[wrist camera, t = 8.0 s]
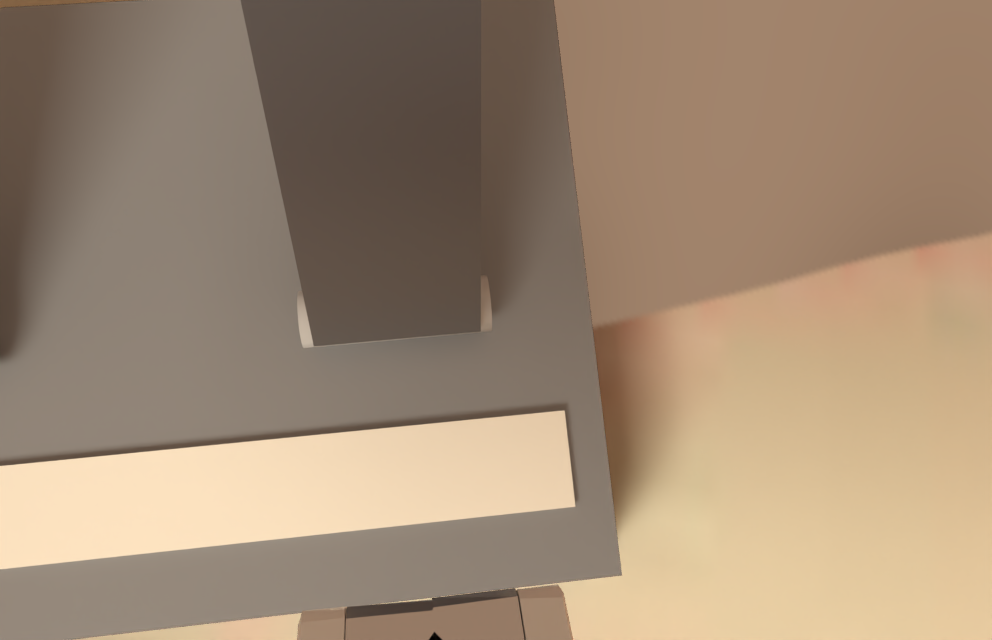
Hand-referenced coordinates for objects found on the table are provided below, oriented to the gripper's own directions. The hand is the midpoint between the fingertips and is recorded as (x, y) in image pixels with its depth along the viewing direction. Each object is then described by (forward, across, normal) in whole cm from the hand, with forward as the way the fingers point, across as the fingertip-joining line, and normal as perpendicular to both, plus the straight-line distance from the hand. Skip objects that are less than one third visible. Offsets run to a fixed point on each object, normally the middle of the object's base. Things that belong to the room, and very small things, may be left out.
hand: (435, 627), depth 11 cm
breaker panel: (+15, +6, +6) cm, 18 cm away
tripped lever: (+12, 0, +4) cm, 13 cm away
